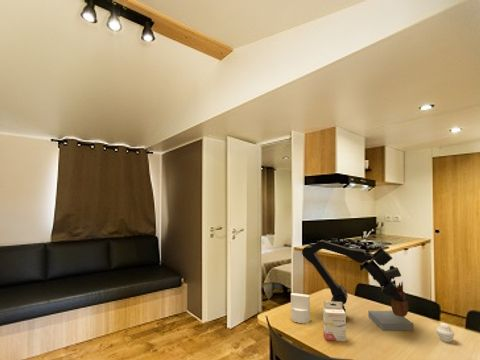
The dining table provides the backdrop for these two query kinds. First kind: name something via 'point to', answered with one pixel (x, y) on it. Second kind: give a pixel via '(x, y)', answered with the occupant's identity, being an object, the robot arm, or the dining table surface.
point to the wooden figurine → (400, 303)
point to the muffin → (445, 332)
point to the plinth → (390, 320)
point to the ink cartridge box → (334, 321)
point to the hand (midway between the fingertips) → (402, 299)
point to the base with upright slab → (300, 308)
